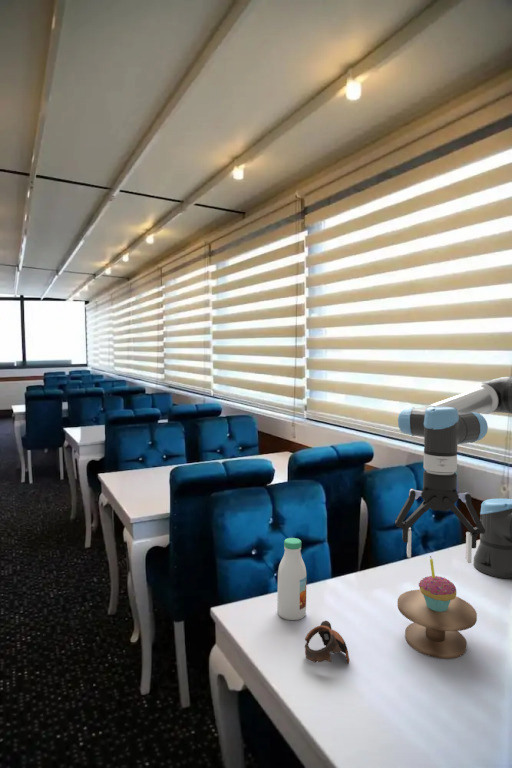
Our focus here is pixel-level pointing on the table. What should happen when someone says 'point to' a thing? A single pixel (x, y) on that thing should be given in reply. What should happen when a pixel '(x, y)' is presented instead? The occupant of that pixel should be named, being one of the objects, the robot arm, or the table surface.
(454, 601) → the cake stand
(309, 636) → the broken pottery fragment
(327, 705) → the table surface
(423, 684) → the table surface
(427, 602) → the cupcake
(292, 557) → the milk bottle
